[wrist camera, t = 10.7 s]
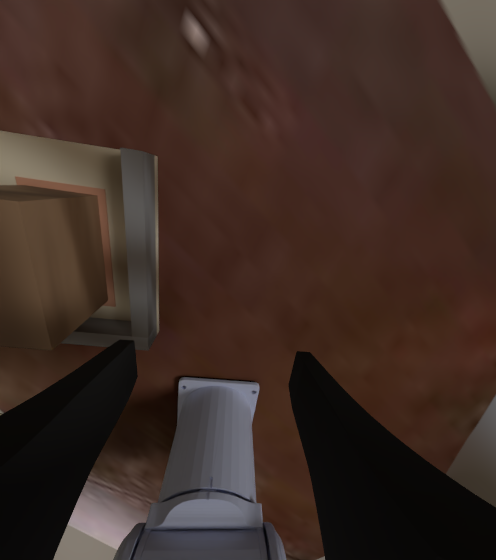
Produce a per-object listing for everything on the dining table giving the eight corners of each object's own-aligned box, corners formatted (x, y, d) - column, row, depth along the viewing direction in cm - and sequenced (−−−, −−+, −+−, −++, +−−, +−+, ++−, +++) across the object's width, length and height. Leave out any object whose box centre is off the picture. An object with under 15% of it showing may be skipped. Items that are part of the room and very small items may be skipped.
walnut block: (97, 195, 15) (18, 201, 10) (108, 300, 18) (51, 350, 13) (25, 185, 15) (-101, 185, 9) (48, 294, 18) (-37, 343, 12)
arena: (159, 330, 20) (148, 350, 18) (-25, 314, 19) (-63, 332, 17) (157, 156, 15) (142, 151, 13) (-97, 115, 14) (-167, 101, 11)
